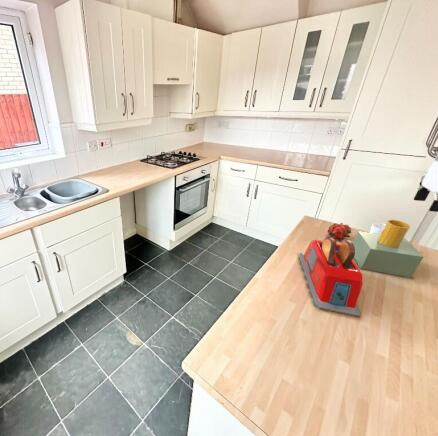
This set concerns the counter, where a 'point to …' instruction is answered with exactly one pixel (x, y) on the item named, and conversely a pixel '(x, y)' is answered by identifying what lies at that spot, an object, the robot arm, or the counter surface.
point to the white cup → (377, 228)
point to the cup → (393, 233)
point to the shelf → (385, 255)
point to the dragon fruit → (339, 231)
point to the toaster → (333, 275)
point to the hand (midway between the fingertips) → (426, 205)
